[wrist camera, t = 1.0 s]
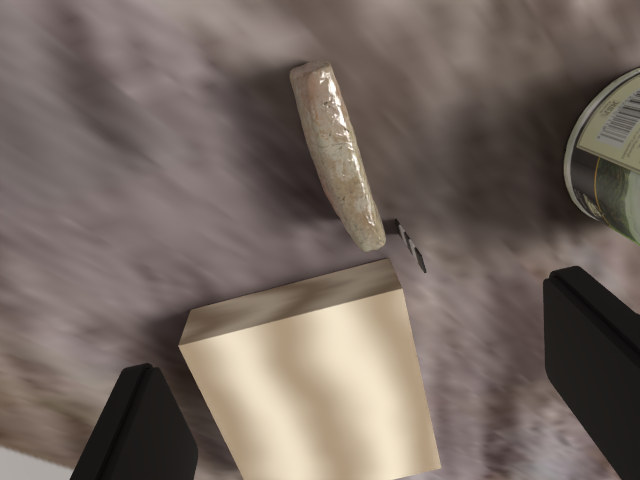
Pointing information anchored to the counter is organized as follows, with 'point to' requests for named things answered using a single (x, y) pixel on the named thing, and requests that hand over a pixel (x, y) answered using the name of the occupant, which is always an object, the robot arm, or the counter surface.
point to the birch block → (315, 378)
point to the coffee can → (608, 157)
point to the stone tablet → (339, 156)
